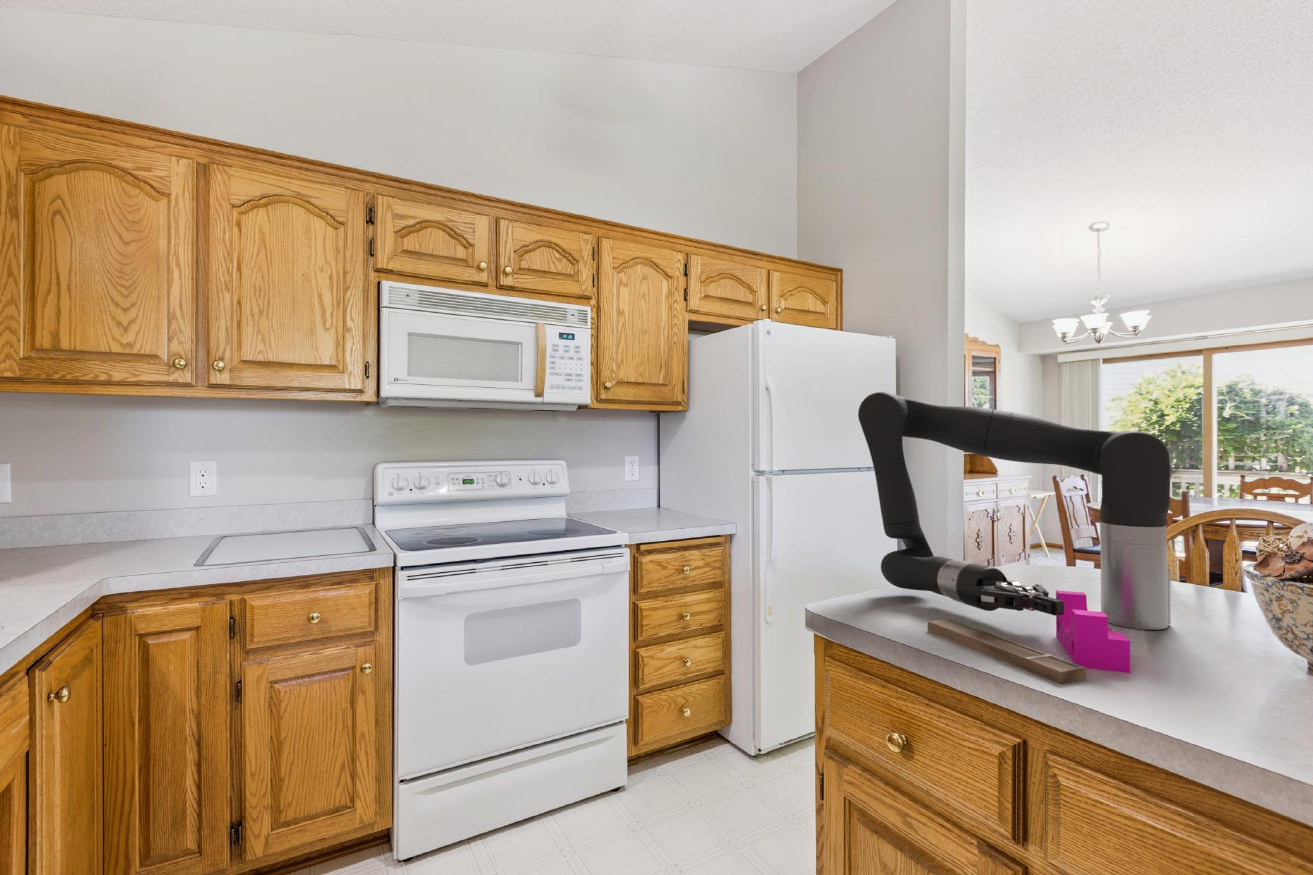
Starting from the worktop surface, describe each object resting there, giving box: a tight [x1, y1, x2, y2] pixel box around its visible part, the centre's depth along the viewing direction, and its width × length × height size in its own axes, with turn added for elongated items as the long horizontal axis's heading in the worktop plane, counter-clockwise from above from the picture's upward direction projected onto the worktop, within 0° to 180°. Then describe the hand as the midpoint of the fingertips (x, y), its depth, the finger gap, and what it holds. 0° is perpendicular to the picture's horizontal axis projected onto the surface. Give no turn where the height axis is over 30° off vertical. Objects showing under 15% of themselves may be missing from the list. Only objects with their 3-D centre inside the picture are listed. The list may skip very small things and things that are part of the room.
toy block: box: [1055, 589, 1131, 674], centre depth 93 cm, size 15×6×8 cm, turn 156°
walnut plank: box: [927, 618, 1087, 685], centre depth 94 cm, size 4×24×2 cm, turn 18°
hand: (1060, 608), depth 95 cm, fingers closed
